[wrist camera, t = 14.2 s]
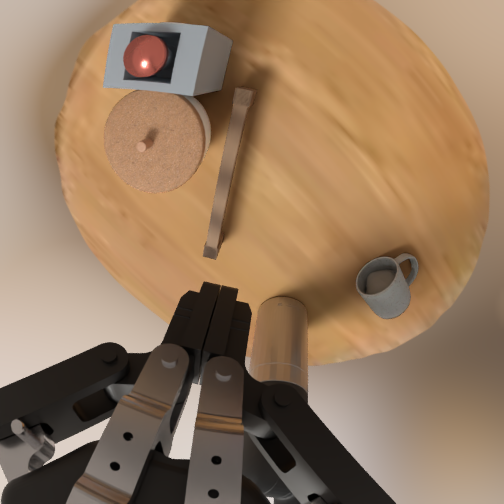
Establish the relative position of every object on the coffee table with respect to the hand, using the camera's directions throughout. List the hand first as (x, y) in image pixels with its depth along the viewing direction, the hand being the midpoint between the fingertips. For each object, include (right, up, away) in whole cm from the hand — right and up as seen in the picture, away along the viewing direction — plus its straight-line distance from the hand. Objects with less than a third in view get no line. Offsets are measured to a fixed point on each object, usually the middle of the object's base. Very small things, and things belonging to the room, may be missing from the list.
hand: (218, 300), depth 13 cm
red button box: (-6, +27, +19) cm, 33 cm away
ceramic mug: (+24, -1, +33) cm, 41 cm away
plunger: (-8, +22, +12) cm, 26 cm away
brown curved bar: (-2, +13, +27) cm, 30 cm away
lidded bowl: (-9, +19, +24) cm, 32 cm away
